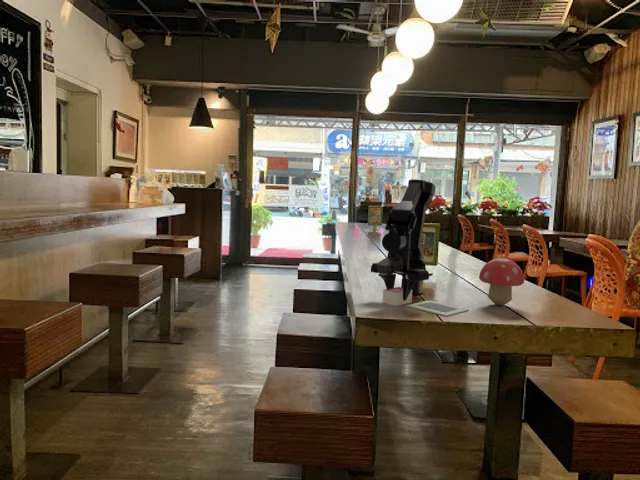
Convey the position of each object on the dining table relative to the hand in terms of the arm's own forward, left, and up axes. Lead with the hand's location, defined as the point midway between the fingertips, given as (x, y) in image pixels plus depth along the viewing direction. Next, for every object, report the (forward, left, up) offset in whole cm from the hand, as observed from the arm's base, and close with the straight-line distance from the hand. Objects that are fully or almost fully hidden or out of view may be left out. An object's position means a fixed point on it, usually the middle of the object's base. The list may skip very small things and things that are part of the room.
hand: (397, 298), depth 155 cm
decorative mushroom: (-25, +21, -1) cm, 33 cm away
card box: (0, 0, -1) cm, 1 cm away
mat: (-4, +12, -1) cm, 13 cm away
